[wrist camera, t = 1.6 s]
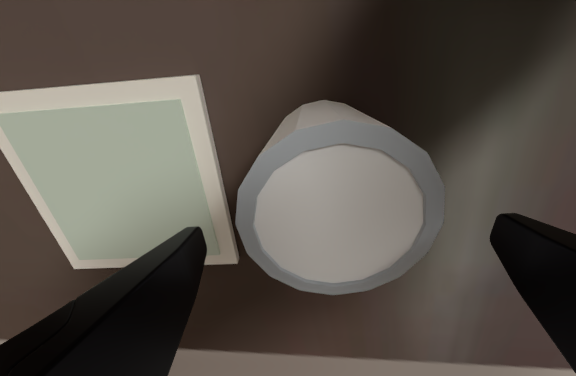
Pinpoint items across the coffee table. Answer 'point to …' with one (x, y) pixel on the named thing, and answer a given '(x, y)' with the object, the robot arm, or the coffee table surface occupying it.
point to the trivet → (119, 167)
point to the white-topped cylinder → (339, 202)
